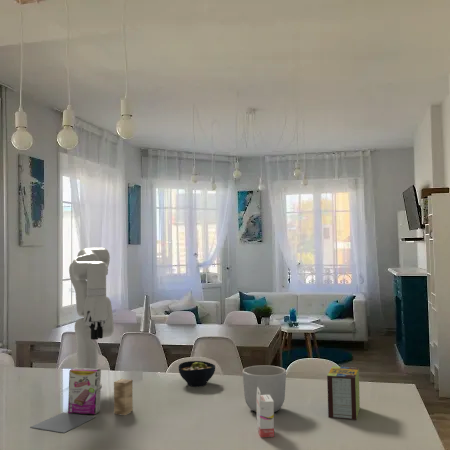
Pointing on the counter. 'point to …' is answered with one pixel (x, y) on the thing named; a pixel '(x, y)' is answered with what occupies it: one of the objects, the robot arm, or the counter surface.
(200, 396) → the counter surface
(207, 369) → the bowl
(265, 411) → the ink cartridge box
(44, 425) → the mat
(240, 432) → the counter surface
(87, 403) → the candy bar box
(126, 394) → the oak block
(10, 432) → the counter surface
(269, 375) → the planter
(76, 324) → the robot arm
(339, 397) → the protein box
